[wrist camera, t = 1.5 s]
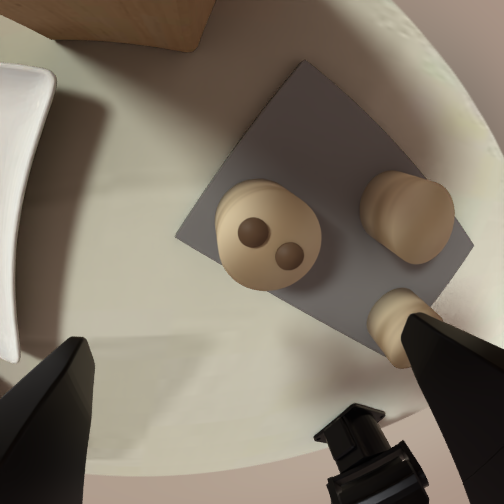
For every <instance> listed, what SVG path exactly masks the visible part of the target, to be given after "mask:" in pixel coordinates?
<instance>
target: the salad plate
mask: <svg viewBox="0 0 504 504" xmlns="http://www.w3.org/2000/svg"><path fill="white" fill-rule="evenodd" d="M56 86H57V78H56V75H55V74H54V73H53V72H52V71H50V70H48V69H45V68H41V67H35V66H29V65H23V64H15V63H4V62H0V358H1V359H3V360H5V361H8V362H11V363H18V362H19V361H20V357H21V348H20V340H19V331H18V322H17V312H16V296H15V263H16V247H17V237H18V229H19V222H20V216H21V210H22V204H23V199H24V195H25V190H26V186H27V182H28V178H29V174H30V170H31V166H32V162H33V159H34V155H35V152H36V149H37V146H38V142H39V139H40V136H41V133H42V130H43V127H44V124H45V121H46V118H47V115H48V112H49V109H50V107H51V103H52V100H53V97H54V95H55V91H56Z"/></svg>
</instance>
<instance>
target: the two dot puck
mask: <svg viewBox="0 0 504 504" xmlns="http://www.w3.org/2000/svg"><path fill="white" fill-rule="evenodd" d="M215 229H216V236H217V244H218V251H219V256H220V260H221V262H222V265H223V267H224V268H225V270H226V271H227V273H228V274H229V275H230V276H231V277H232V278H233V279H234V280H235V281H236V282H238V283H239V284H241V285H243V286H245V287H247V288H250V289H254V290H259V291H272V290H278V289H282V288H285V287H287V286H290V285H292V284H293V283H295V282H297V281H298V280H300V279H301V278H302V277H303V276H304V275H305V274H306V273H307V272H308V271H309V270H310V269H311V267H312V266H313V264H314V263H315V261H316V259H317V257H318V254H319V251H320V247H321V228H320V225H319V221H318V219H317V217H316V215H315V213H314V212H313V210H312V209H311V208H310V207H309V206H308V205H307V204H306V203H305V202H304V201H302V200H301V199H300V198H298V197H297V196H295V195H294V194H293V193H291V192H290V191H288V190H287V189H286V188H284V187H283V186H281V185H280V184H278V183H276V182H274V181H271V180H268V179H257V178H256V179H249V180H245V181H242V182H240V183H238V184H236V185H234V186H233V187H232V188H230V189H229V190H228V191H227V192H226V193H225V194H224V196H223V197H222V198H221V200H220V202H219V204H218V206H217V209H216V213H215Z"/></svg>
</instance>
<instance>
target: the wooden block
mask: <svg viewBox="0 0 504 504" xmlns="http://www.w3.org/2000/svg"><path fill="white" fill-rule="evenodd" d="M215 1H216V0H0V15H3V16H5V17H7V18H9V19H11V20H13V21H15V22H17V23H19V24H22V25H24V26H26V27H28V28H30V29H32V30H34V31H36V32H38V33H39V34H41V35H43V36H45V37H47V38H49V39H51V40H94V41H108V42H120V43H129V44H137V45H145V46H152V47H159V48H165V49H171V50H176V51H181V52H193V51H194V50H195V49H196V48H197V47H198V44H199V42H200V39H201V36H202V34H203V31H204V28H205V26H206V23H207V21H208V18H209V16H210V13H211V11H212V8H213V6H214V4H215Z"/></svg>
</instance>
